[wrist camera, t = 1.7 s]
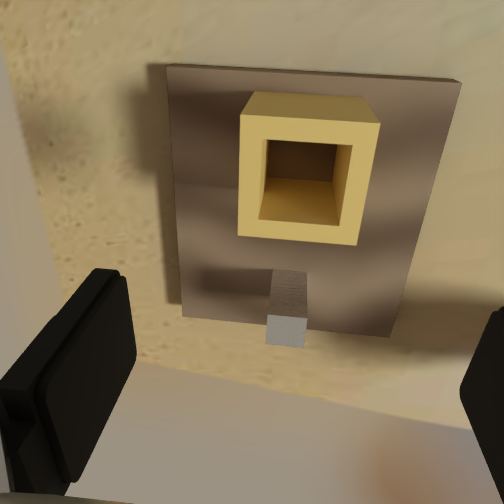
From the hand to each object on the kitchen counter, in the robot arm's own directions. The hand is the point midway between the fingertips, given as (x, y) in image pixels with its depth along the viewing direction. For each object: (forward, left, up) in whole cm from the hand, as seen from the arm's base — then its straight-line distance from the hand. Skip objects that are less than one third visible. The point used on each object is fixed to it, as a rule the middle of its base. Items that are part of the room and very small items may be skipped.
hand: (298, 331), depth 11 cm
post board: (+5, 0, -17) cm, 18 cm away
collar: (0, 0, -16) cm, 16 cm away
